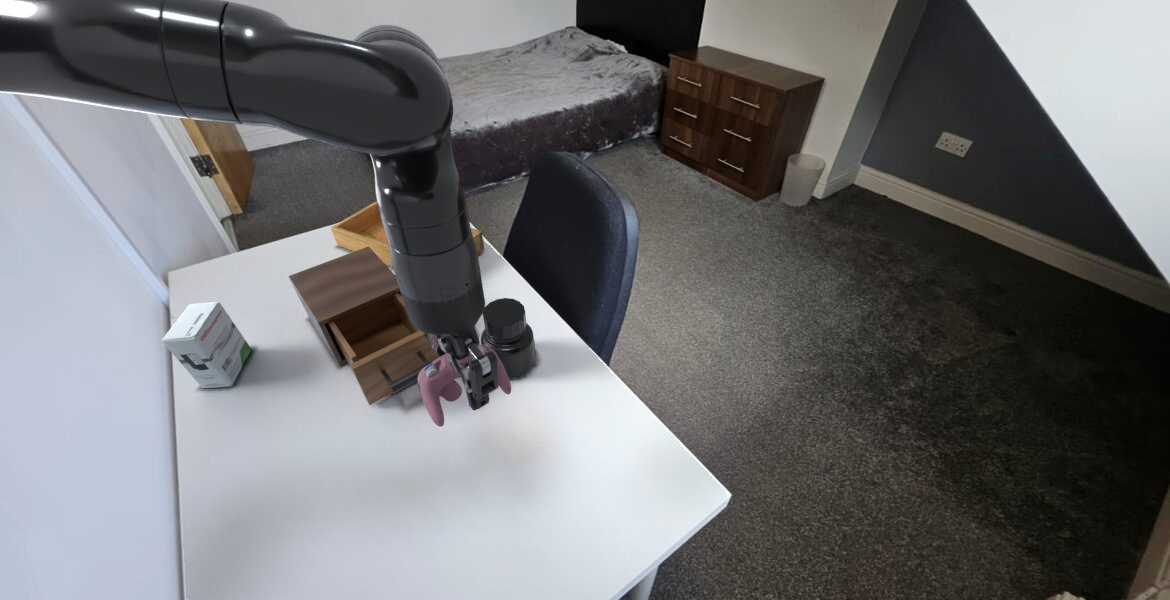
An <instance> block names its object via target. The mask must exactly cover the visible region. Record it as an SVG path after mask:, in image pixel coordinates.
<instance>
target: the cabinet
mask: <svg viewBox="0 0 1170 600" xmlns="http://www.w3.org/2000/svg"><path fill="white" fill-rule="evenodd" d="M288 279H289V281H290V283H291V285H292V287H293V289H294V291H295V293H296V295H297V297H298V299H299V301H300V303H301V304H302V307H303V308H304V310H305V312H306V314H307V316H308V319H309V320H310V322H311V323H312V325H313V326H314V328H315V330H316V331H317V333H318V335H319V336H320V338H321V339H322V341H323V342H324V344H325V346H326V347H327V348H328V350H329V352H330V353H331V355H332V357H333V358H334V360H335V362H336V363H337V365H338V366H339V367H341V366H343V365H346V364H348V362H347V360H346V359H345V357H344V356H343V354H342V353H341V351H340V349H339V347H338V345H337V343H336V341H335V339H334V337H333V335H332V333H331V331H330V329H329V327H328V324H327V323H328V322H330V321H333V320H335V319H337V318H340V317H342V316H344V315H346V314H349V313H351V312H353V311H356V310H358V309H360V308H362V307H365V306H367V305H369V304H372V303H374V302H376V301H378V300H381V299H383V298H385V297H388V296H390V295H392V294H394V293H397V292H398V293H399V294H400V295H401V292H400V289H399V285H398V282H397V279H396V276H395V272H394V271H392V270H391V269H390V268H389V266H388V265H387V264H385V263H384V262H383V261H382V260H381V259H380V258H379V257H378V256H377V255H376V254H375V253H374V251H373V250H372V249H371V248H370V247H369V246H368V247H365V248H363V249H360V250H357V251H355V252H354V251H351V252H349V253H347V254H344V255H341V256H338V257H336V258H333V259H330V260H328V261H325V262H323V263H320V264H317V265H314V266H312V267H309V268H306V269H304V270H301V271H298V272H296V273H292V274H290V275H288ZM401 296H402V295H401Z"/></svg>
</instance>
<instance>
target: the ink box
mask: <svg viewBox="0 0 1170 600" xmlns="http://www.w3.org/2000/svg"><path fill="white" fill-rule="evenodd" d="M161 342H162V343H163V344H164V345H165V347H166V348H167V349H168V350H169V351H170V352H171V354H172V355H173V356H174V357H175V358H176V360H177V361H178V362H179V363H180V364H181V365H182V367H183V368H184V369H185V370H186V371H187V373H188V374H189V375H190V376H191V377H192V378H193V379H194V380H195V381H196V383H197V384H198V385H199V386H200V388H202V389H212V388H213V389H214V388H227V387H229V388H230V387H232V386H233V385H234V383H235V382H236V379H237V378H238V376H239V374H240V372H241V370H242V368H243V366H244V364H245V363H246V361H247V359H248V357H249V355H250V354H251V352H252V347H251V346H250V344H249V342H248V341H247V340H246V339H245V337H244V335H243V334H242V333H241V331H240V330H239V328H238V327H237V326H236V324H235V323H234V321H233V320H232V318H231V317H230V315H229V314H228V312H227V311H226V309H225V308H224V307H223V305H222V304H221V302H219V301H218V302H217V301H210V302H200V303H189V304H188V305H187V306H186V307H185V308H184V310H183V312H182V313H181V314H180V316H179V317H178V318H177V319H176V321H175V322H174V323H173V325H172V326H171V327H170V328H169V330H168V331H167V333H166V334H165V335H164V336H163V337H162V339H161Z"/></svg>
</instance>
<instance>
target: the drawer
mask: <svg viewBox="0 0 1170 600" xmlns="http://www.w3.org/2000/svg"><path fill="white" fill-rule="evenodd" d="M327 324H328V327H329V329H330V331H331V333H332V335H333V337H334V339H335V341H336V343H337V345H338V347H339V349H340V351H341V353H342V354H343V356H344V357H345V359H346V360H347V364H348V365H349V367H350V369H351V370H352V372H353V375H354V377H355V379H356V382H357V383H358V385H359V387H360V390H361V392H362V394H363V396H364V398H365V400H366V402H367V403H368V405H369V406H371V405H373V404H375V403H376V402H378V401H380V400H382V399H384V398H386V397H388V396H389V395H391V394H396V393H397V392H400V391H401V390H402V389H405V388H406V387H408V386H411V385H412V384H414V383H415V382H418V375H419V373H420V371H421V370H422V369H423V368H424V367H425V366H427V365H429V364H430V363H432V362H433V361H435V360H436V359H438V356H437V353H436V352H435V351H434V350H433V349H432V345H431V343H430V341H429V339H427V338H426V337H424V335H423V334H424V333H423V332H422V331H420V330H418V329H417V328H416V327H414V326H413V325H412V323H411V322H410V320H409V318H408V315H407V312H406V308H405V305H404V302H403V299H402V296H401V295H400V294H399V293H398V292H397V293H394V294H392V295H390V296H388V297H385V298H383V299H381V300H378V301H376V302H374V303H372V304H369V305H367V306H365V307H362V308H360V309H358V310H356V311H353V312H351V313H349V314H346V315H344V316H342V317H340V318H337V319H335V320H333V321H330V322H328V323H327ZM437 352H438V351H437Z"/></svg>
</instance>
